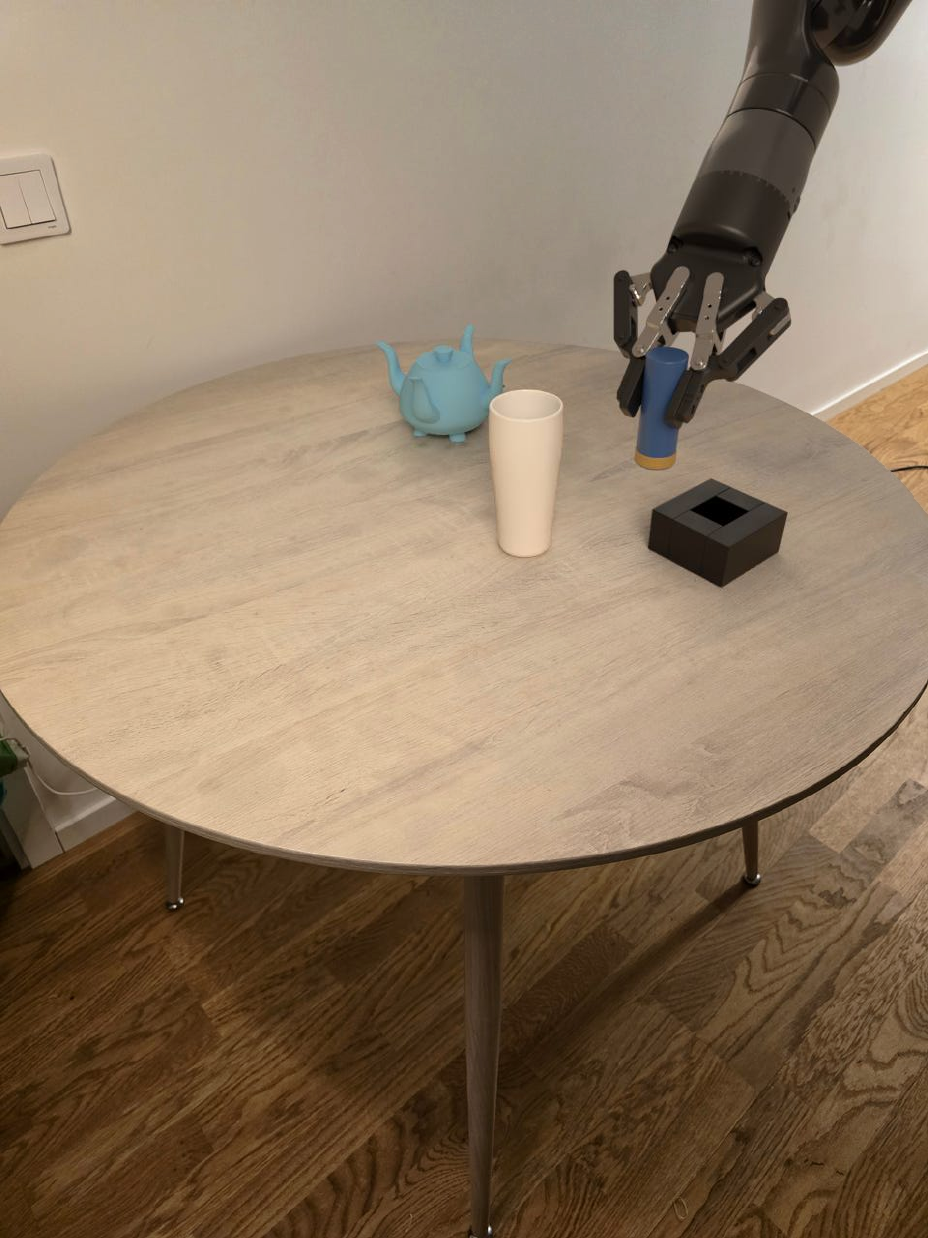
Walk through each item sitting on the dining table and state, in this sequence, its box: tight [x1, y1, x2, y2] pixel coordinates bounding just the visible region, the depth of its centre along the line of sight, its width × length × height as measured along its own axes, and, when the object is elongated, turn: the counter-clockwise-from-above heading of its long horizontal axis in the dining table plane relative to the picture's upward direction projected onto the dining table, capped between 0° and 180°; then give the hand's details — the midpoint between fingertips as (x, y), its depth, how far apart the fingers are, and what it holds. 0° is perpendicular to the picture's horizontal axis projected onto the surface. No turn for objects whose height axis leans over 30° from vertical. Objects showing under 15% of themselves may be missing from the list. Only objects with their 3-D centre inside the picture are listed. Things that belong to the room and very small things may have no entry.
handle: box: [634, 346, 690, 471], centre depth 64 cm, size 3×3×8 cm
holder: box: [647, 478, 789, 589], centre depth 83 cm, size 9×9×4 cm
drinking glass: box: [488, 389, 565, 558], centre depth 81 cm, size 7×7×15 cm
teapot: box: [375, 324, 514, 443], centre depth 104 cm, size 13×13×10 cm
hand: (649, 417), depth 63 cm, fingers closed on handle, 3 cm apart
